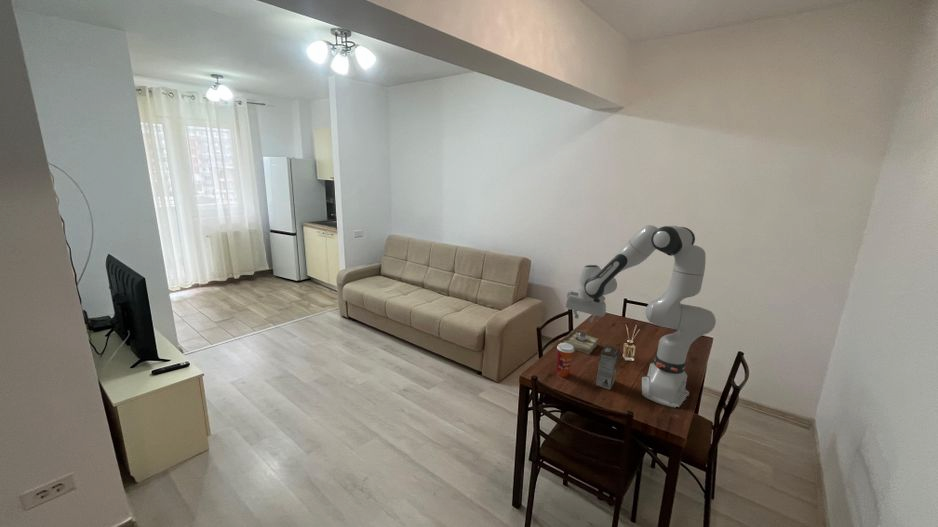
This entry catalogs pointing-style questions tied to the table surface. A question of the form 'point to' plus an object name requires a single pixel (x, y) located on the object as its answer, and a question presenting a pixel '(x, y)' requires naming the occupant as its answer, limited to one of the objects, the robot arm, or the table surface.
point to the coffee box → (607, 367)
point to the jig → (581, 346)
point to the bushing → (581, 336)
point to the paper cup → (564, 359)
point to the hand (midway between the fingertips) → (583, 319)
